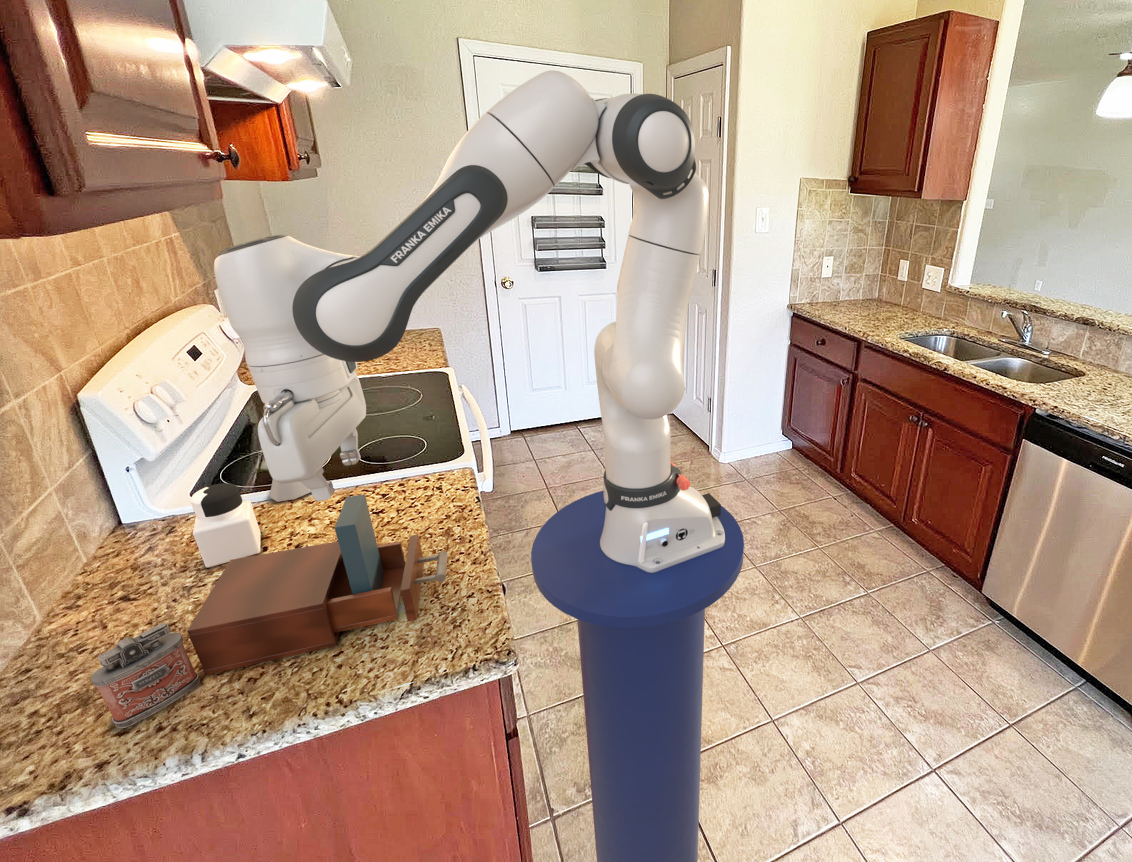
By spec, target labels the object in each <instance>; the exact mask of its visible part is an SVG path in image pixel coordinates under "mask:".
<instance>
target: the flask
mask: <svg viewBox="0 0 1132 862" xmlns="http://www.w3.org/2000/svg"><path fill="white" fill-rule="evenodd" d="M310 493H311V490H310V489H308V488H307V487H306V486H305V485H304V484H302V483H301V482H300V481H298V482H292V483H285V484H280V483H278V482H277V481H275V480H274V479H273V478H272V482H271V487H270V493H269V498H270V499H272V500H273V501H275V502H284V501H290V500H291V501H292V500H296V499H298V498H300V497H303V496H305V495H308V494H310Z"/></svg>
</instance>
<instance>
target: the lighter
mask: <svg viewBox="0 0 1132 862" xmlns="http://www.w3.org/2000/svg"><path fill="white" fill-rule="evenodd" d="M97 660H98V661H99V663H100V665H101V666H102V667H100V668H98V669H97V670H95V671H94V672H93V673H92V674H91V676H90V681H91V683H92V685H93V686H94V687H97V690H98V691H99V693H100V695H101V698H102V699H103V700H104V703H105V704H106V706H107V708H108V710H109V712H110V714H111V716H112V718H111V720H112V723H113V724H114V726H115V727H116V728H117V729H124V728H128V727H130V726H133V725H134V724H137V723H138V722H140V721H142V720H145V719H146V718H149V717H150V716H152V715H154V714H156V713H157V712H159V711H162V710H163V709H165V708H166V707H168V706H169V705H171V704H172V703H175V702H176V701H178V700H179V699H180V698H182V697H184V696H185V695H186V694H188V693H189V692H191V691H192V690H193V689H195V688H196V687H197V686H198V685H200V682H201V677H200V675H199V673H198V672H197V671H195V669H194V668H195V667H193V663H192V662H191V660H190V656H189V655H188V653H187V650H186V648H185V645H184V637H183V636H182V634H181V633H180V632H172V631H171V629H170V627H169V624H168V623H166V622H165V623H164V622H162V623H159V624H157V625H155V626H153V627H151V628H149V629H147V630H145V631H143V632H141V633H140V634H139V635H137V636H135V637H125V638H123V639H120V641H118V642H117V644H116V646H115V647H113V648H111V649H109V650H107V651H105V652H103V653H101V654H99V655H98V657H97Z"/></svg>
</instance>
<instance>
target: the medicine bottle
mask: <svg viewBox="0 0 1132 862" xmlns="http://www.w3.org/2000/svg"><path fill="white" fill-rule="evenodd" d="M190 503H191V506H192V509H193V512H194V514H195V518H194V519H195V520H194V524H193V528H192V529H193V531H192V535H193V537H194V540H195V543H196V545H197V548H198V550H199V553H200V555H201V558H202V561H203V564H204V565H205V566H204V567H206V568H209V569H210V568H212V567H216V566H219V565H222V564H226V563H227V564H228V563H229V562H230V560H232V559H238V558H244V557H250V556H256V555H259V554H260V553H261V529H260V526H259V523H258V520H257V517H256V514H255V511H254V508H253V504H252V502H251V500H250V499H246V500H243V497H242V494H241V492H240V488H239V486H238V485H236V484H234V483H229V482H228V483H227V482H224V483H216V484H212V485H207V486H205V487H204V488H203V487H202V488H201V489H199V490H197V491H196V492H194V493H193V494H192V496H191V497H190Z"/></svg>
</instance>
